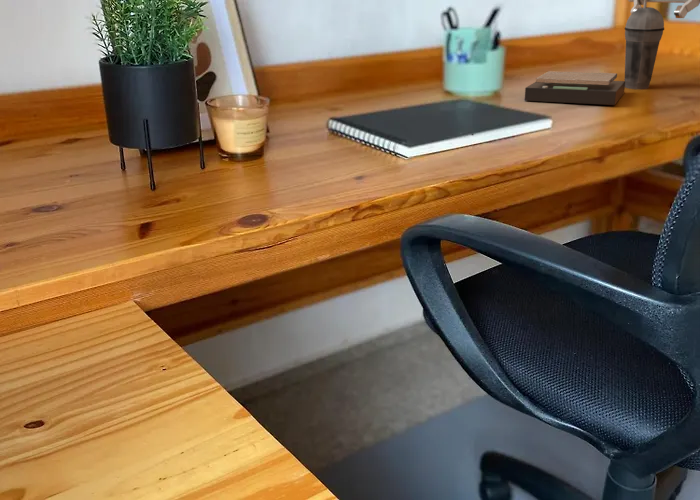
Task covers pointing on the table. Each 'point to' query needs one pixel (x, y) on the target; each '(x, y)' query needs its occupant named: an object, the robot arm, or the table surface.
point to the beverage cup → (642, 46)
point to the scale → (575, 93)
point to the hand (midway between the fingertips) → (655, 15)
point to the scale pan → (577, 78)
